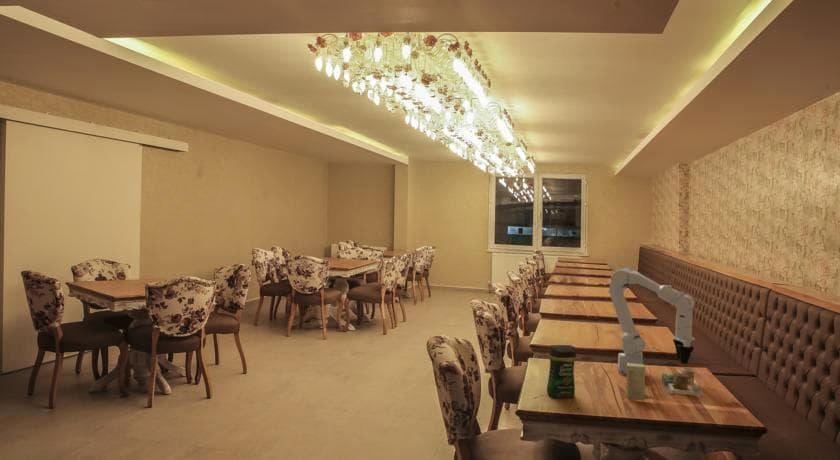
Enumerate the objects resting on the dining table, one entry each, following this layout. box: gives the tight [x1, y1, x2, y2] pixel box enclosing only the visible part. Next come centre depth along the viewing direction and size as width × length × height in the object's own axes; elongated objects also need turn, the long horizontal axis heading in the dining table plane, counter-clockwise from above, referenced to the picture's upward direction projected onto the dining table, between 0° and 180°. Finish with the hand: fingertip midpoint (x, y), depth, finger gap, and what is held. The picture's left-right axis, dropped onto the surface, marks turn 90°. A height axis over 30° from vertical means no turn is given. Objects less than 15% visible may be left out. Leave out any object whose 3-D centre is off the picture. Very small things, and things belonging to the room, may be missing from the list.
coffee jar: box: [546, 344, 577, 399], centre depth 199 cm, size 10×8×19 cm
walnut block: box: [673, 372, 688, 390], centre depth 204 cm, size 4×4×6 cm
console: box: [661, 372, 674, 386], centre depth 212 cm, size 5×5×3 cm
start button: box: [666, 373, 674, 377], centre depth 212 cm, size 3×3×3 cm
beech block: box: [680, 367, 695, 385], centre depth 210 cm, size 4×4×6 cm
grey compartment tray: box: [663, 379, 704, 397], centre depth 207 cm, size 12×15×2 cm
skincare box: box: [625, 363, 646, 401], centre depth 198 cm, size 6×4×12 cm
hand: (682, 360), depth 213 cm, fingers open, 7 cm apart
